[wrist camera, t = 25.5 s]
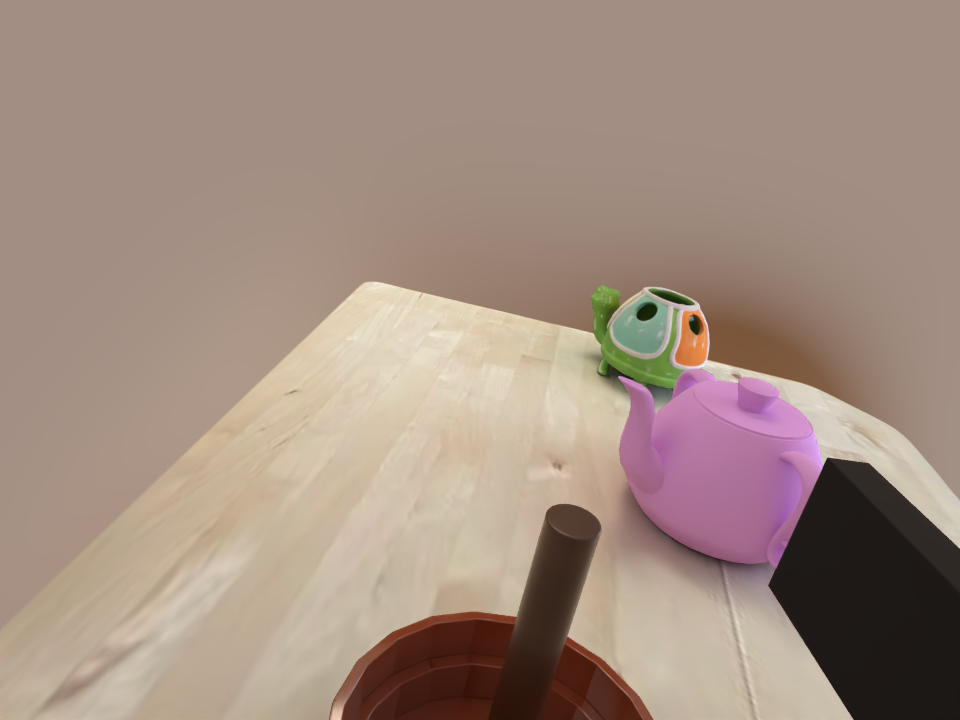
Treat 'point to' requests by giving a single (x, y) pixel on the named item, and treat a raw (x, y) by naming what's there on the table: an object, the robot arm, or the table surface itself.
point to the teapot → (721, 465)
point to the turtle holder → (650, 334)
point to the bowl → (472, 676)
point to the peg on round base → (546, 612)
